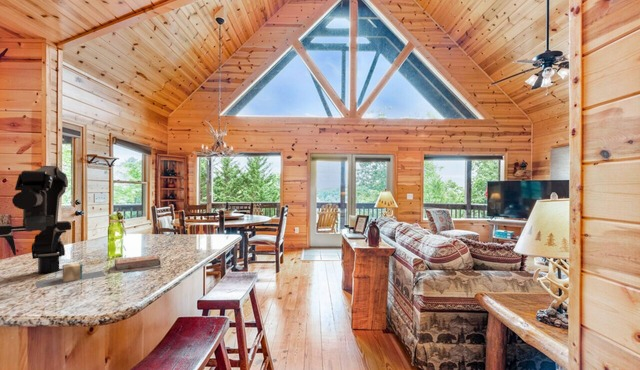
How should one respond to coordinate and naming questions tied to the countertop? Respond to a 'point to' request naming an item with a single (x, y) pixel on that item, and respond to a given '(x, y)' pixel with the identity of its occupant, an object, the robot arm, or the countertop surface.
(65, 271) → the block
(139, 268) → the reddish brown brick
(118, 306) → the countertop surface
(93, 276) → the mat
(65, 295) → the countertop surface
